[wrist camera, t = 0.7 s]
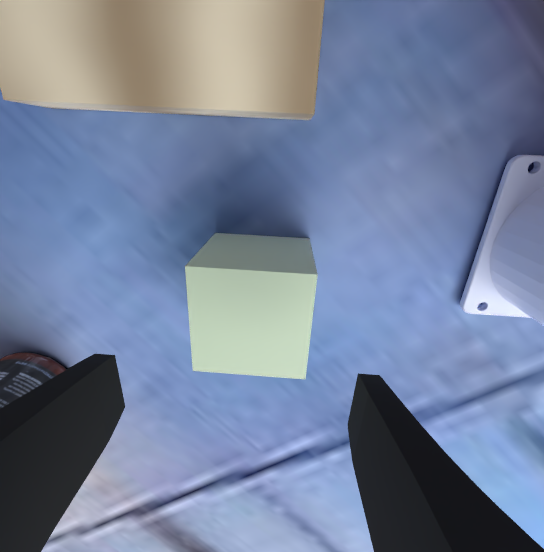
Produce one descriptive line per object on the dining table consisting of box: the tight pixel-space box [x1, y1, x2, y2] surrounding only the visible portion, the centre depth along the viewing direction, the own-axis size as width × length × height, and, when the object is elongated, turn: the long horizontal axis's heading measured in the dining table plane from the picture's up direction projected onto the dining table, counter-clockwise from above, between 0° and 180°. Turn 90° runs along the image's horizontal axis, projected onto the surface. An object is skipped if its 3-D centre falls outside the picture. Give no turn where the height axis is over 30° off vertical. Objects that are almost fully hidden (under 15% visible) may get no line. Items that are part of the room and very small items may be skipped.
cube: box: [185, 233, 317, 379], centre depth 14 cm, size 5×5×5 cm
